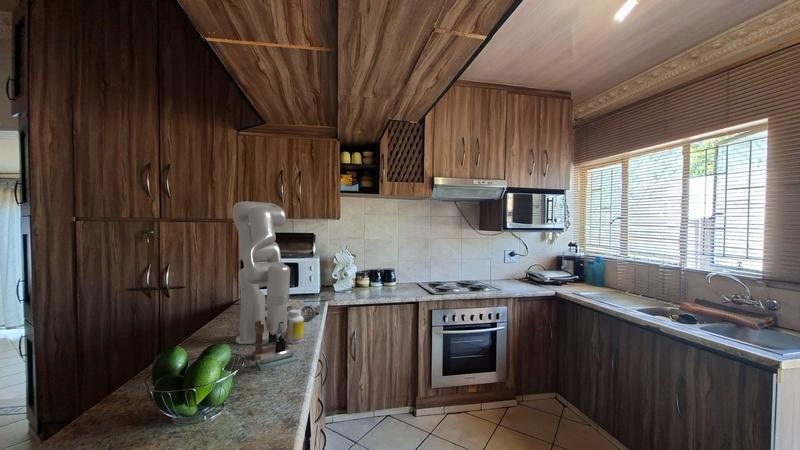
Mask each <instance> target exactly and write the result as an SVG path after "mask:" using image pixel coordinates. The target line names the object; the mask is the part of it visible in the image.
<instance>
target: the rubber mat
mask: <svg viewBox="0 0 800 450" xmlns="http://www.w3.org/2000/svg"><path fill="white" fill-rule="evenodd" d="M297 361H298V358H297V357H296V356H295V355H294V356H291V357H287V358H283V359H279V360H276V361H272V362H268V363H264V364H260V360H257V361H256V363H257V365H258V367H259V369H260V371H264V370H267V369H271V368H274V367H278V366H281V365H285V364H289V363H292V362H297Z"/></svg>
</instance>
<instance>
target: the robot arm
mask: <svg viewBox="0 0 800 450" xmlns="http://www.w3.org/2000/svg"><path fill="white" fill-rule="evenodd" d="M232 219H233V222H234V225H235V227H236V230H237V232H238V235H239V236H238V237H239V238H238V240H239V251H240V258H241V261H242V262H243V268H241V269H240V270H239V272H238V282H239V283H238V284H239V289H240V312H239V313H240V316H239V317H240V318H239V319H240V320H239V321H240V322H239V323H240V324H239V335H237V336H236V337H235V343H237V344H239V345H252V344H254V345H255V340H256V331H255V321H261V324H264V333H263V341H266V340H268V344H272V343H275V345H274V346H275V352H276V353H279V352H283V351H285V345H286V335H285V334H286V330H287V319H288V314H287V304H289V299H290V286H291V285H290V281H291V280H290V279H291V268H290V267H289V266H288V265H286V264H285V263H284V262H282V256H281V250H280V246H279V244H278V243H277V242H276V238H277V237H276V233H275V229H274V227H275V228H278V227H283V226H284V225H286V220H287V216H286V213H285V211H284V209H283V208H282V207H281V206H279V205H277V204H276V203H273V202H261V201H259V202H258V201H238V202H236V203H234V205H233V208H232ZM263 287H266V296H265V294H264V292H263V291H261V289H260V288H263ZM266 306H267V310H266ZM266 311H267V318H266V319H265V312H266ZM266 330H267V331H268V332H267V331H266Z"/></svg>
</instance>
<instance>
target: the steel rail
mask: <svg viewBox="0 0 800 450" xmlns="http://www.w3.org/2000/svg"><path fill="white" fill-rule="evenodd" d="M291 356H295V349H294V347H289V348H288V349H285V351H283V352H279V353H276V352H271V353H267V354H263V355H260V364H264V363H268V362H272V361H276V360H279V359H283V358H287V357H291Z"/></svg>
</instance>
